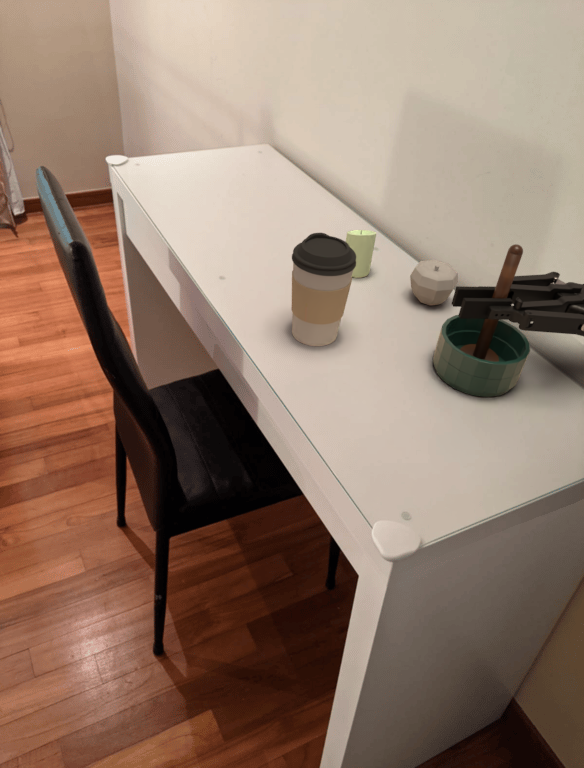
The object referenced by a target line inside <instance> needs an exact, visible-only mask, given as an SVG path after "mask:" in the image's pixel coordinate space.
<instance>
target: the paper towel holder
mask: <svg viewBox="0 0 584 768" xmlns="http://www.w3.org/2000/svg"><path fill="white" fill-rule="evenodd" d="M523 255H524V248H523V247H522V245H520V244H517V243H516V244H512V245H511V246H510V247H509V248H508V250H507V253H506V256H505V258H504V261H503V265H502V267H501V271H500V273H499V276H498V278H497V282H496V285H495V287H496V288H495V291H494V293H493V296H492V298H507V296H508V293H509V290H510V288H511V285H512V282H513V279H514V276H516V274H517V271H518V268H519V265H520V262H521V259H522V257H523ZM498 321H499V320H497V319H496V320H492V319H485V320H484V323H483V326H482V329H481V332H480V335H479V338H478V340H477V343H476V344H468V345H465V346H463V347H462V348H461V349H460V350H461V351H463V352H464V353H466V354H468V355H471V356H474V357H476V358H479V359H483V360H488V361H494V362H499V358H498V356H497V354H496V353H495V352H494V351H493V350H491V349H489V346H490V343H491V341H492V338H493V335H494V332H495V329H496V327H497V324H498Z"/></svg>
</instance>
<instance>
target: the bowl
mask: <svg viewBox="0 0 584 768" xmlns="http://www.w3.org/2000/svg"><path fill="white" fill-rule="evenodd" d="M458 315H459V314H455V315H453V316H450V317H449V318H447V319H446V320H445V321H444V322H443V324H442V325H441V329H440V331H439V335H438V338H437V341H436V345H435V349H434V352H433V357H432V359H433V360H432V362H433V365H434V370H435V372H436V374H437V375H438V376H439V378H440V379H441V380H442V381H443V382H444V383H446V384H447V385H448V386H449V387H451V388H452V389H455V390H457V391H458V392H461V393H464V394H467V395H471V396H475V397H483V398H488V397H489V398H492V397H493V398H494V397H499V396H502V395H505V394H506V393H508V392H510V391H511V390H512V389H513V388H514V387H515V386H516V385H517V383H518V382H519V380H520V377H521V374H522V372H523V370H524V367H525V365H526V362H527V360H528V357H529V355H530V353H531V344H530V341H529V339H528V338H527V336H526V335H525V334H524V333H523V332H522V330H521V329H519V328H518V327H516V326H514V325H513V324H511V323H509V322H507V320H500V319H499V321H498V324H497V327H496V329H495V332H494V335H493V338H492V341H491V343H490V346H489V349H491V350H493V351H494V352H495V353H496V354H497V356H498V358H499V362H494V361H488V360H483V359H479V358H476V357H474V356H471V355H468V354H466V353H464V352H463V351H461V350H460V349H461V348H462V347H463V346H465V345H468V344H476V343H477V340H478V338H479V335H480V332H481V329H482V326H483V323H484V320H485V319H460V317H459V316H458Z"/></svg>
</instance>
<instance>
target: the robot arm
mask: <svg viewBox="0 0 584 768" xmlns="http://www.w3.org/2000/svg"><path fill="white" fill-rule="evenodd" d="M560 276H561V273H559V272H558V271H551V272H547V273H545V274H544V273H543V274H527V275H515V276H514V279H513V282H512V285H511V288H510V290H509V293H508V296H507V298H492V296H493V293H494V291H495V288H496V286H489V285H487V286H485V285H484V286H482V285H481V286H480V285H479V286H460V285H459V286H457V285H456V286H455V289H454V294H453V296H452V299H451V306H452V307H455V308H460V309H459V312H458V314H457V315H458V316H459V317H460V319H492V320H496V319H497V320H499V319H500V320H503V321H508V322H511V323H517V324H518V330H520V331H525V332H537V333H550V334H551V333H552V334H564V335H565V334H566V335H576V336H581V337H584V283H577V282H573V281H568V282H564V281H562V280H561V279H560Z"/></svg>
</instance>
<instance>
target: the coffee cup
mask: <svg viewBox="0 0 584 768" xmlns="http://www.w3.org/2000/svg"><path fill="white" fill-rule="evenodd" d="M291 261H292V271H291V315H292V316H291V334H292V336H293V338H294V339H295V340H296V341H297V342H299V343H301V344H303V345H306V346H310V347H323V346H328V345H330V344H332V343H334V342H335V341H336V339H337V337H338V333H339V328H340V324H341V321H342V318H343V316H344V313H345V309H346V305H347V302H348V297H349V293H350V291H351V290H350V289H351V287H352V282H353V277H352V273H353V269H354V268H355V267H356V254H355V252H354V251H353V249H351V248H350V246H349V245H348V244H347V243H346V240H343V239H342V238H339V237H336V236H331V235H329V234H327V233H324V232H313V233H311V234H309V235H307V237H306V238H304V239H303V240H302V241H301V242H299V243H298V244H296V246H294V247H293V250H292V254H291Z"/></svg>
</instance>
